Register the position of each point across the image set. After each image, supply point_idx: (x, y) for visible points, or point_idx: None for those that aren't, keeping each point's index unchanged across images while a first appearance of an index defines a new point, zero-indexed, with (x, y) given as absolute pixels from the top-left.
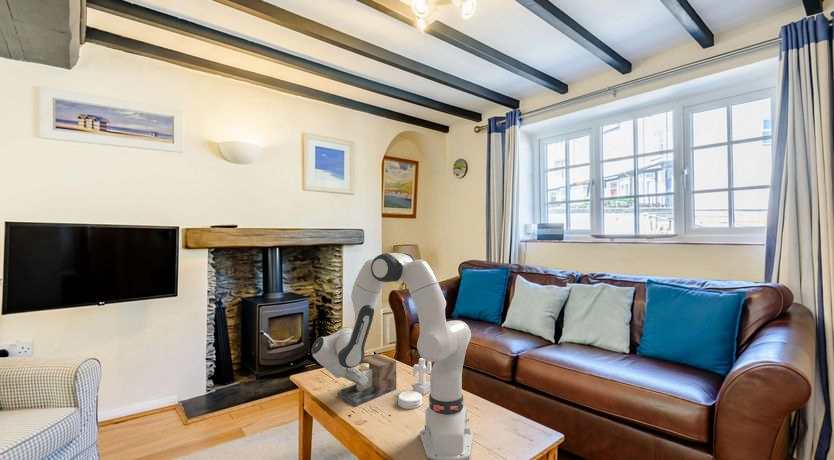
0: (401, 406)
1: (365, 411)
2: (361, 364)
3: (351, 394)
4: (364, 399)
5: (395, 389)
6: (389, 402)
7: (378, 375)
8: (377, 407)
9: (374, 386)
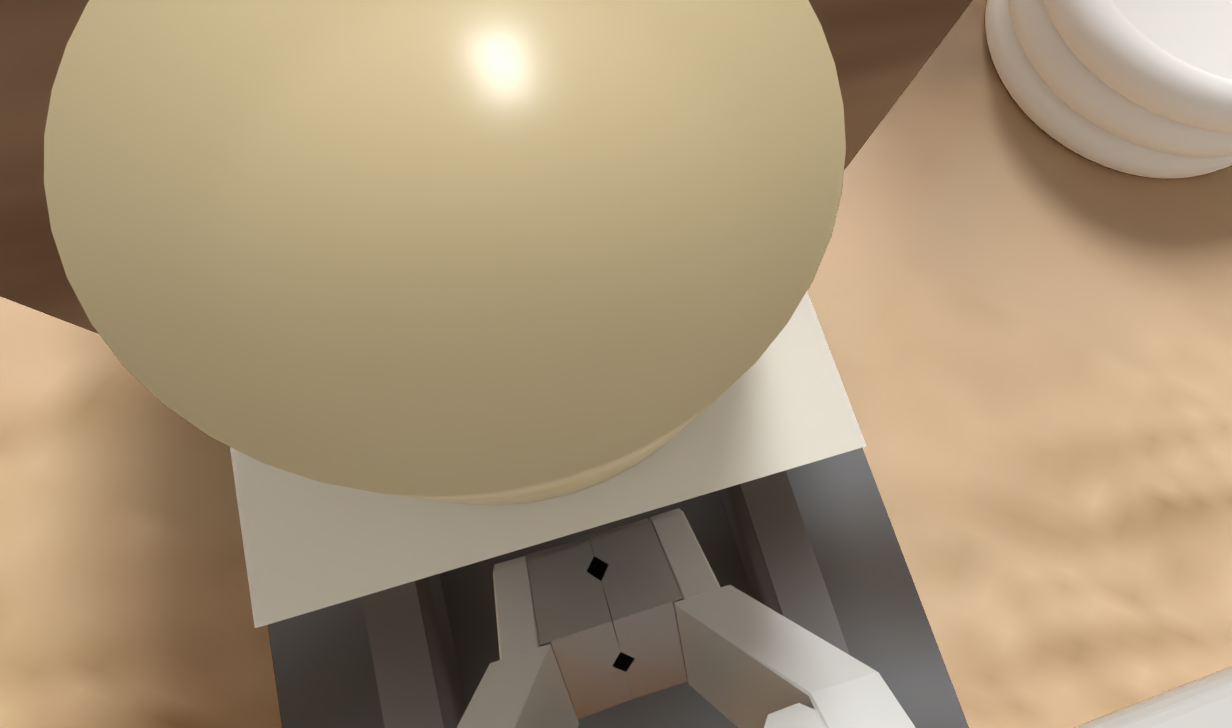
0: (1215, 170)
1: (1163, 661)
2: (231, 237)
3: (591, 719)
4: (906, 565)
5: None
6: (1008, 238)
7: (918, 26)
8: (1096, 443)
9: None
